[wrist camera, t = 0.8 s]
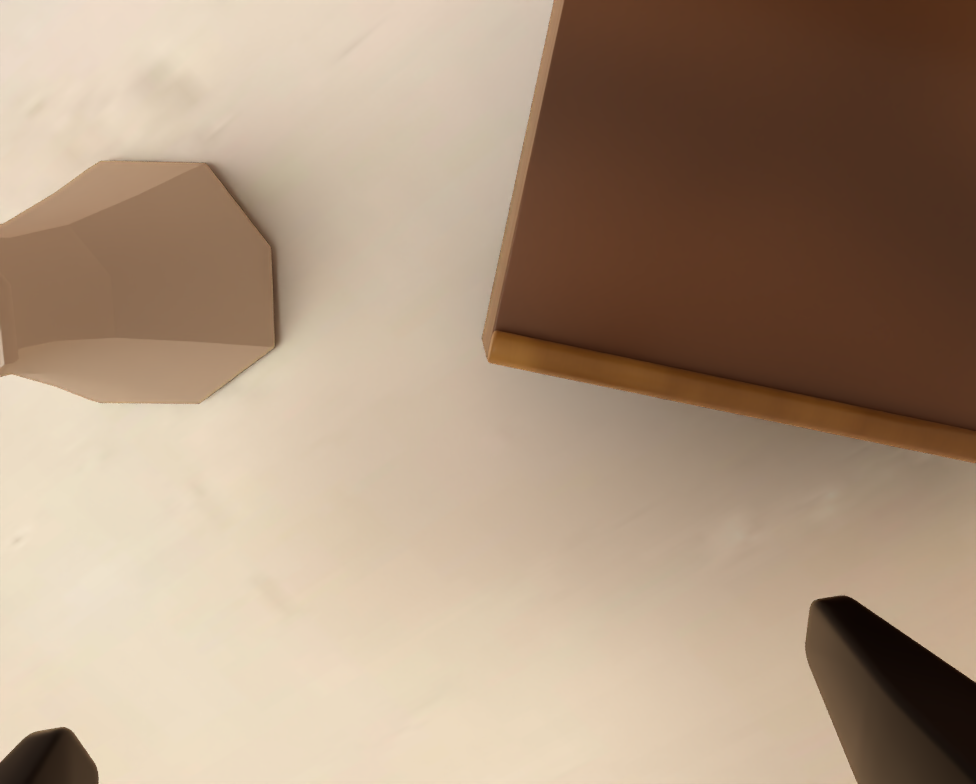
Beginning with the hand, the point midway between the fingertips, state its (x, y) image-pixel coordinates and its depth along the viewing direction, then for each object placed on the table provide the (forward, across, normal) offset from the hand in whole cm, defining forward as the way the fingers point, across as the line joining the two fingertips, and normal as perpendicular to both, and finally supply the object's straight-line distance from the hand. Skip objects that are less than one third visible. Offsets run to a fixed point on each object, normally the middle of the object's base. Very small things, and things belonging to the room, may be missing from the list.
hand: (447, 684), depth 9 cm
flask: (+15, +8, 0) cm, 17 cm away
